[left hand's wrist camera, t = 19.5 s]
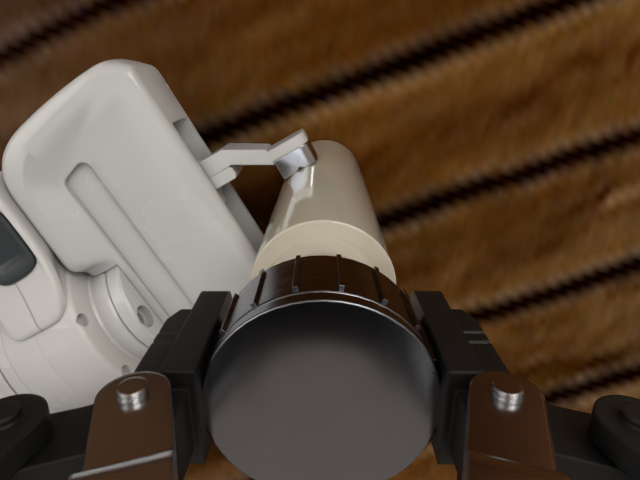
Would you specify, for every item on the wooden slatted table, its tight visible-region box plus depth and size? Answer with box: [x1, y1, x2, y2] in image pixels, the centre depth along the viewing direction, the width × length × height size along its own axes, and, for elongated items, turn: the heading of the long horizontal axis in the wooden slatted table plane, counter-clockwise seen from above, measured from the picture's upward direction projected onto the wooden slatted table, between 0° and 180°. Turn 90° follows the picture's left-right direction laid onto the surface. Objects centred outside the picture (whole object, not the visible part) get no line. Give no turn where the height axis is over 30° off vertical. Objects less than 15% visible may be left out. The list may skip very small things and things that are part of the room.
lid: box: [202, 254, 441, 480], centre depth 10 cm, size 5×5×2 cm
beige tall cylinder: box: [250, 140, 397, 285], centre depth 20 cm, size 4×4×17 cm
